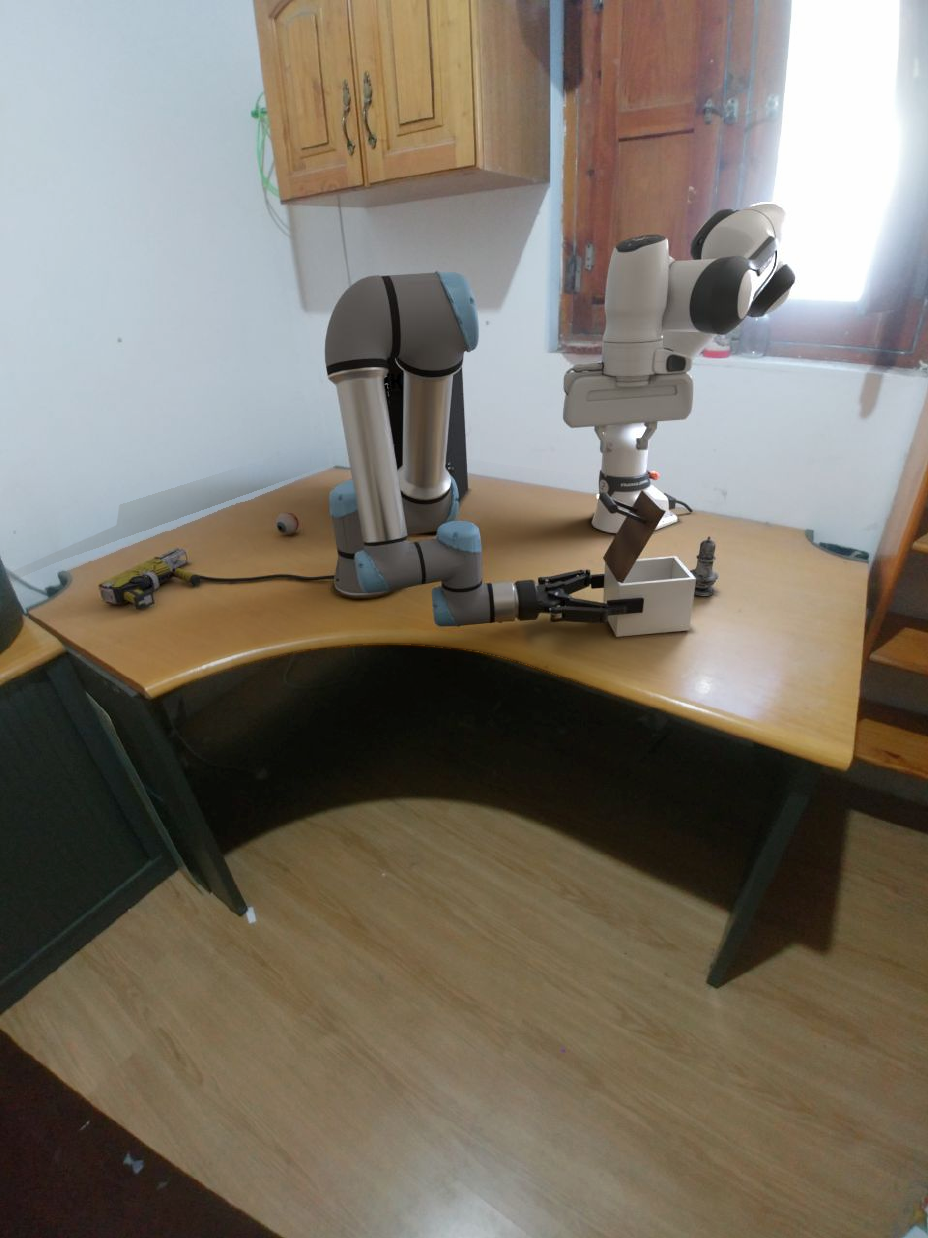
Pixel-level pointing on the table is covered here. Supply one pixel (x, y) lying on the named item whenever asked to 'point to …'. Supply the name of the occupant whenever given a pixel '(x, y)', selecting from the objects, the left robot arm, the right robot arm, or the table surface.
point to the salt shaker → (705, 569)
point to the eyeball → (287, 523)
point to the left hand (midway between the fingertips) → (633, 591)
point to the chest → (653, 596)
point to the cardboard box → (455, 429)
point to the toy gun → (146, 580)
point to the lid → (631, 531)
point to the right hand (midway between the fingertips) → (623, 450)
